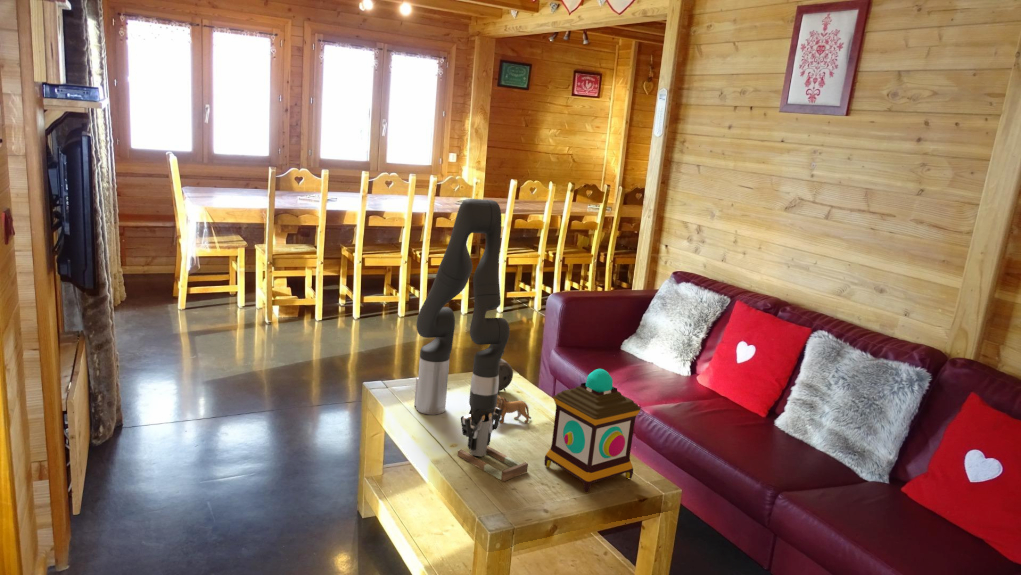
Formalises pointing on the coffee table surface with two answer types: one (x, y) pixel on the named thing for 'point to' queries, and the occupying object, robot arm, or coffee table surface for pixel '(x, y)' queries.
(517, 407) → the lion figurine
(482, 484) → the coffee table surface
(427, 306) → the robot arm
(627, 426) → the decorative lantern
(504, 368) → the alarm clock
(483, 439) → the grey hollow cylinder
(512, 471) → the guide channel
